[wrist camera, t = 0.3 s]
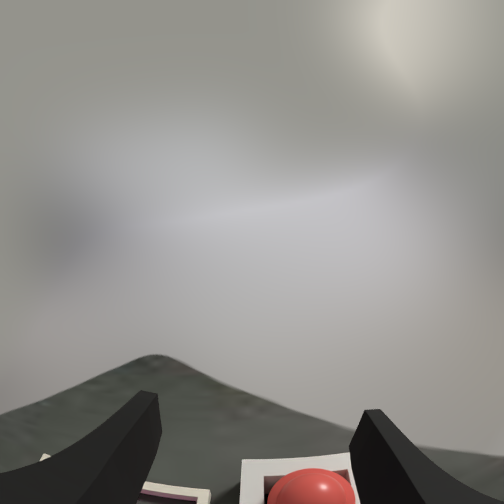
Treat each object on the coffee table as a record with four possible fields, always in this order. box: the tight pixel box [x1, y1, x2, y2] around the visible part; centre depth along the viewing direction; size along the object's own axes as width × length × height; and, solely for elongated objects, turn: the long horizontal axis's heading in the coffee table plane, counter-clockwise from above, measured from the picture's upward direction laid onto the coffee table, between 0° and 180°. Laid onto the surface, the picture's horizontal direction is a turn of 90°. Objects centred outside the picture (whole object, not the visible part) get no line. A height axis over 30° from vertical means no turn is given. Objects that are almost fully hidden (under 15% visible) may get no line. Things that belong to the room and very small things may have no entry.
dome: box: [267, 468, 355, 504], centre depth 18 cm, size 7×7×6 cm
